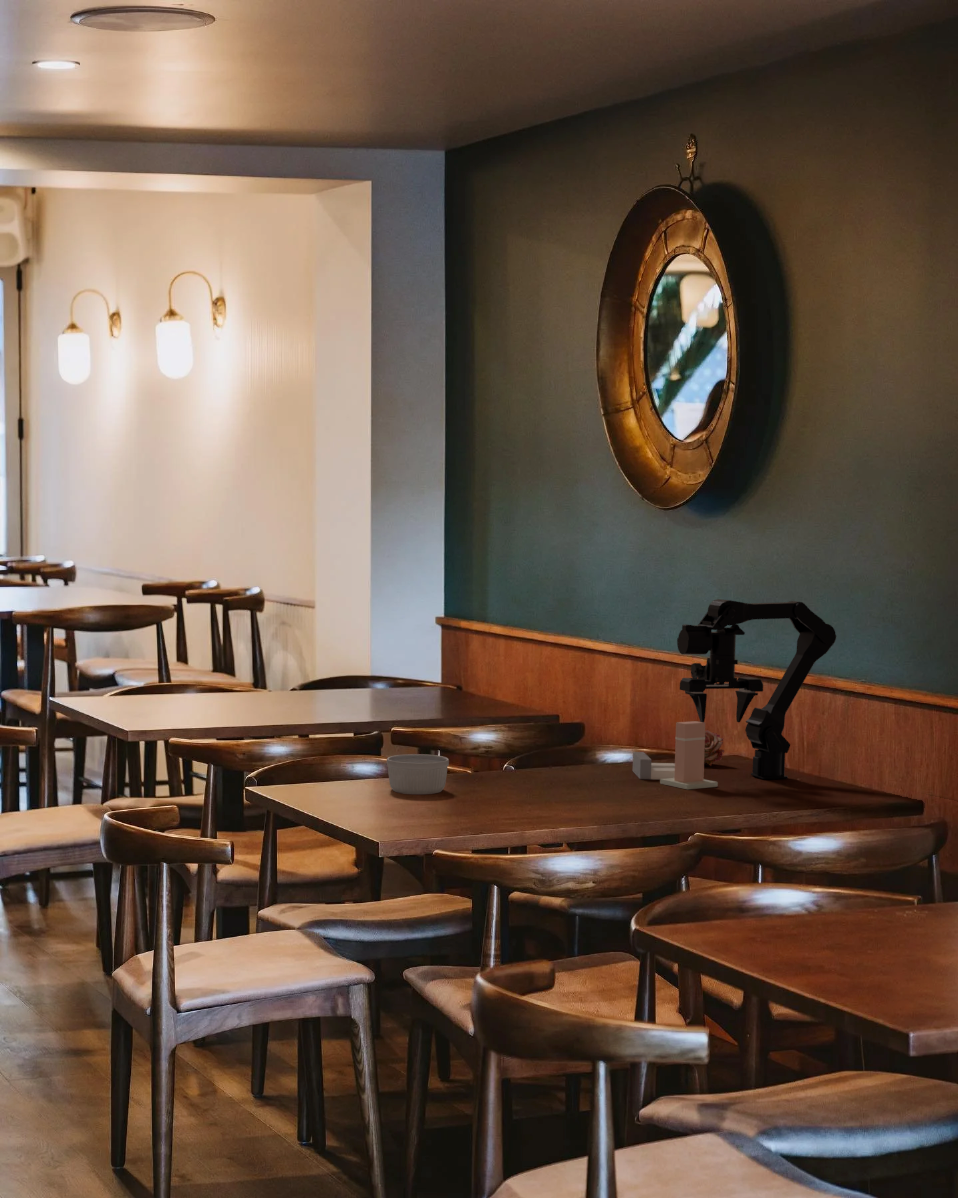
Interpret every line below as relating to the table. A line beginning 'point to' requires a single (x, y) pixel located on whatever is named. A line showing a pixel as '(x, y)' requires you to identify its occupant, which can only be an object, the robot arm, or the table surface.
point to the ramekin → (417, 773)
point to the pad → (689, 783)
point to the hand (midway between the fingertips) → (720, 722)
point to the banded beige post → (689, 751)
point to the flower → (712, 747)
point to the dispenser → (651, 767)
